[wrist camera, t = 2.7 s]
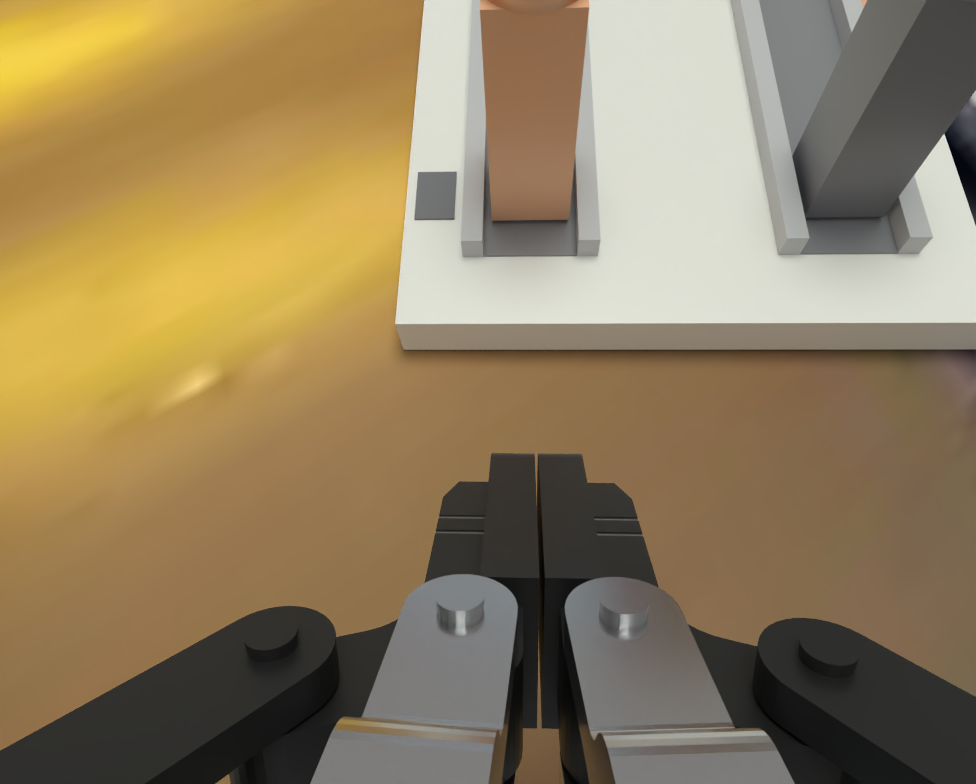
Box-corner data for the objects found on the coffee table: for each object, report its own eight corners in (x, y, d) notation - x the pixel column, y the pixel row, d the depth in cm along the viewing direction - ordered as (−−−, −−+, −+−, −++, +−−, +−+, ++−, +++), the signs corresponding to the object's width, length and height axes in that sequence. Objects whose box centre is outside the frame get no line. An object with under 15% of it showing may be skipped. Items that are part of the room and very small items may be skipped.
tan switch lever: (573, 223, 27) (600, -16, 18) (486, 224, 27) (470, -13, 19) (571, 157, 29) (594, -95, 20) (488, 158, 29) (474, -92, 20)
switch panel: (975, 349, 27) (1026, 307, 24) (403, 349, 28) (390, 309, 25) (858, -27, 36) (886, -88, 33) (433, -16, 37) (426, -74, 34)
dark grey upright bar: (890, 220, 27) (1074, -28, 18) (799, 221, 27) (937, -25, 18) (871, 153, 28) (1033, -109, 19) (785, 154, 28) (906, -105, 19)
